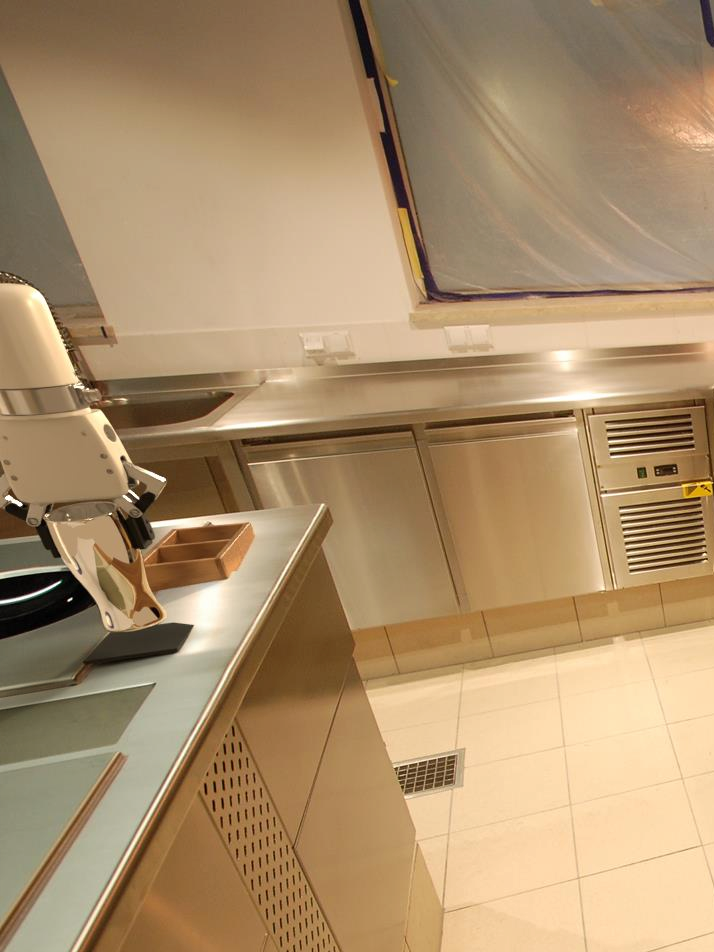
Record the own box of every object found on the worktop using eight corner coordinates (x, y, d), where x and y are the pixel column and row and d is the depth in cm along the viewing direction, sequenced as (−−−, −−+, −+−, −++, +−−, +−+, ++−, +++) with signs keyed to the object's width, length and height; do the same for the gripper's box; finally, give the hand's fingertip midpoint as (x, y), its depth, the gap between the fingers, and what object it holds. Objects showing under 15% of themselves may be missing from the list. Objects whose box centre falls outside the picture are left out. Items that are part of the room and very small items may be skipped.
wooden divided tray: (143, 600, 120) (129, 568, 118) (183, 558, 135) (171, 529, 133) (232, 590, 124) (220, 558, 122) (260, 550, 140) (250, 521, 137)
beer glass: (84, 629, 104) (24, 517, 97) (143, 605, 110) (91, 497, 102) (128, 639, 103) (70, 526, 95) (186, 614, 109) (136, 505, 101)
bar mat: (83, 665, 102) (82, 661, 102) (113, 633, 110) (111, 630, 110) (178, 651, 106) (176, 648, 105) (200, 622, 114) (198, 619, 113)
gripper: (150, 392, 101) (203, 533, 109) (-50, 400, 94) (22, 550, 102) (128, 402, 95) (186, 550, 103) (-86, 412, 88) (-7, 570, 96)
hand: (104, 549), depth 102 cm, fingers closed on beer glass, 7 cm apart
